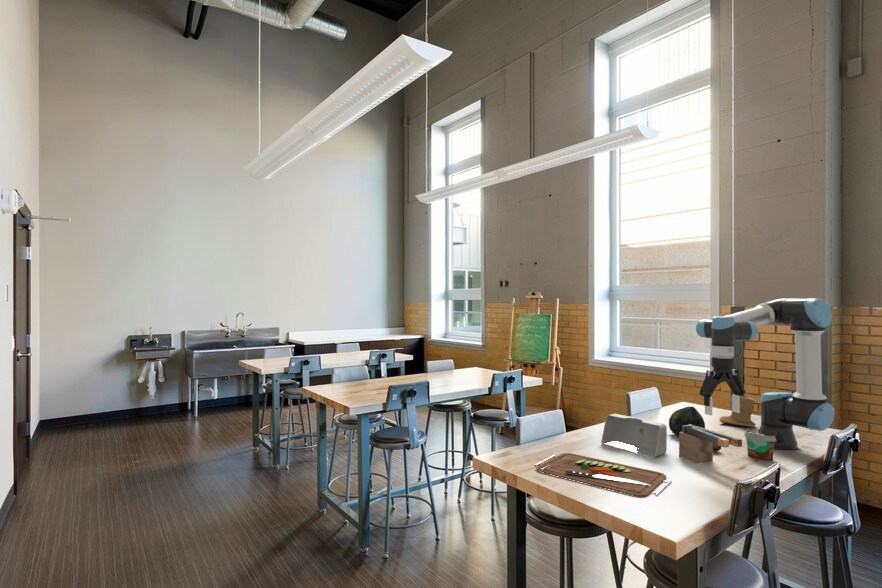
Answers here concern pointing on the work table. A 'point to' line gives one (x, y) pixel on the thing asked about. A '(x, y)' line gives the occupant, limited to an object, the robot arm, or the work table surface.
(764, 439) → the food container
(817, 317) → the robot arm
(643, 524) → the work table surface
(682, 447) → the tong rest
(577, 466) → the chopping board
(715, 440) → the bar
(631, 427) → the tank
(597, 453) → the work table surface
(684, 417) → the squash
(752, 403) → the brown upright flared piece
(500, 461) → the work table surface
